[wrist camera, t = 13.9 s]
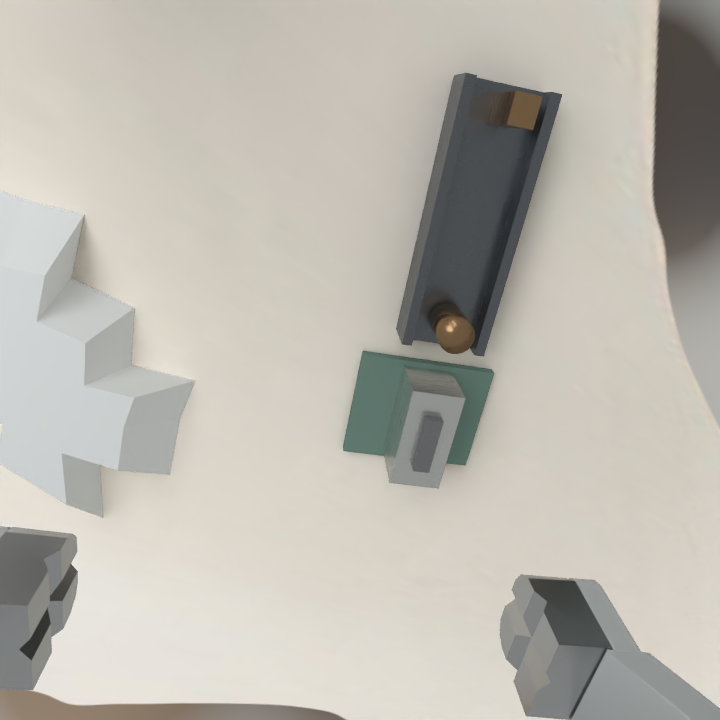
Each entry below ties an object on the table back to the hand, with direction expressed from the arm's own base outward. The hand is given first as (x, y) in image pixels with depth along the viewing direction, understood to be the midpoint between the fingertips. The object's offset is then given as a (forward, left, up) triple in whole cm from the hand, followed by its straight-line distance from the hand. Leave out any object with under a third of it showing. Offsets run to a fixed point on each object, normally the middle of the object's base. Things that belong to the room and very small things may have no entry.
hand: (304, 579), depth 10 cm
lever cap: (+15, +12, -36) cm, 41 cm away
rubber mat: (+15, +12, -37) cm, 42 cm away
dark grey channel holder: (-2, +12, -37) cm, 39 cm away
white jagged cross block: (+15, -20, -38) cm, 46 cm away
